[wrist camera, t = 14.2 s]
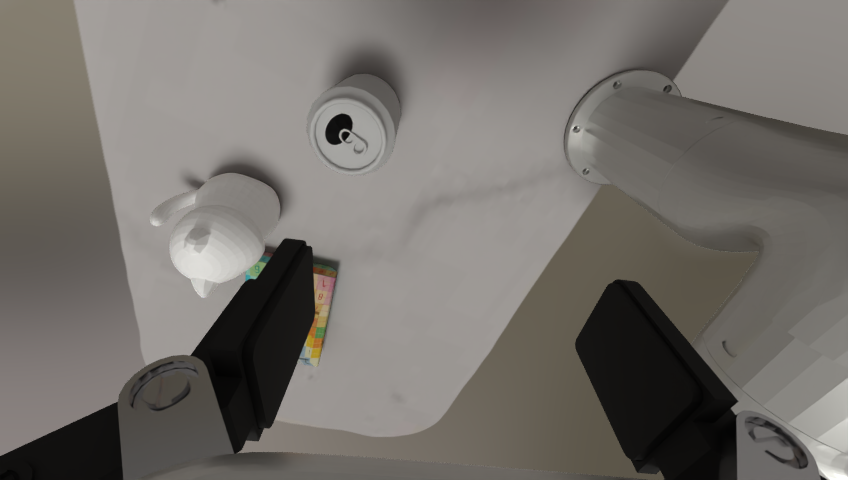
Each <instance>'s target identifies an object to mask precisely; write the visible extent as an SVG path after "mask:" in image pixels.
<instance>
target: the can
mask: <svg viewBox="0 0 848 480" xmlns="http://www.w3.org/2000/svg"><path fill="white" fill-rule="evenodd" d="M400 116H401V112H400V103H399V101H398V98H397V96H396V93H395V92H394V91H393V89H392V88H391V87H390V86H389V84H388V83H386V82H385V81H383V80H382V79H380V78H379V77H377V76H373V75H370V74H355V75H353V76H351V77H349V78H346V79H344V80H343V81H341V82H340V83H338V84H337V85H335V86H333V87H332V88H330V89H329V90H327V91H325V92H324V93H322V94H321V95H320V96H319V97H318V99H317V100H316V101H315V102H314V103H313V104H312V107H311V109H310V111H309V114H308V116H307V134H308V138H309V142H310V145H311V147H312V148H313V150H314V152H315V154H316V155H317V157H318V158H319V159H320V160H321V161H322V162H323V163H324V164H325V165H326V166H327V167H328V168H330V169H332V170H334V171H336V172H337V173H341V174H345V175H350V176H361V175H367V174H369V173H372V172H375V171H377V170H378V169H379V168H380V167H382V166H383V165H384V164H385V163H386V162H387V160H388V159H389V157H390V155H391V154H392V152H393V148H394V143H395V139H396V135H397V130H398V126H399V121H400Z"/></svg>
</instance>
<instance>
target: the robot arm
mask: <svg viewBox="0 0 848 480" xmlns="http://www.w3.org/2000/svg"><path fill="white" fill-rule="evenodd" d="M614 82H615V85H614V86H613V84H614ZM575 126H576V127H575ZM574 127H575V129H573V128H574ZM564 146H565V153H566V158H567V160H568V162H569V164H570V166H571V167H572V168H573V170H574V171H575V172H576V173H577V174H578V175H579V176H581V177H582V178H584V179H586V180H587V181H589V182H593V183H596V184H605V185H611V184H614V185H615V186H616V187H618V188H619V189H620V190H621V191H623V192H624V193H625V194H627V195H628V196H629V197H631V198H632V199H633V200H634V201H635V202H637V203H638V204H639V205H641V206H642V207H643V208H644V209H646V210H647V211H648V212H649V213H651V214H652V215H653V216H655V217H656V218H657V219H659V220H660V221H661V222H662V223H663V224H665V225H666V226H667V227H669V228H670V229H671V230H673V231H674V232H675V233H677V234H678V235H679V236H681V237H682V238H684V239H685V240H687V241H689V242H691V243H693V244H695V245H697V246H700V247H704V248H707V249H711V250H717V251H728V252H756V251H757V252H758V251H759V253H758V255H757V258H756V259H755V261H754V262H753V264H752V265H751V266H750V268H749V269H748V271H747V272H746V273H745V274H744V276H743V277H742V281H741V282H740V283H739V284H738V286H737V287H736V288H735V289H734V290H733V292H732V293H731V294H730V295H729V297H728V298H727V299H726V300H725V301H724V303H723V304H722V305H721V307H719V309H718V310H717V311H716V312H715V314H714V315H713V316H712V317H711V318H710V320H709V321H708V322H707V323H706V325H705V326H704V327H703V328H702V330H701V331H700V332H699V333H698V335H697V336H696V338H695V339H694V341H693V342H692V344H690V343H689V342H688V341H687V340H686V338H685V337H684V336H683V335H682V334H681V333H680V331H679V330H678V329H677V328H676V327H675V326H674V324H673V323H672V322H671V321H670V320H669V318H668V317H667V316H666V315H665V314H664V312H663V311H662V310H661V309H660V308H659V306H658V305H657V304H656V303H655V302H654V300H653V299H652V298H651V297H650V296H649V295H648V294H647V292H646V291H645V290H644V289H643V287H642V286H641V285H640V284H639V283H638V282H635V281H627V280H615V281H614V282H613V283H610V284H609V285H608V286H607V287H606V289H605V291H604V292H603V294H602V296H601V298H600V299H599V301H598V303H597V304H596V306H595V308H594V310H593V311H592V313H591V315H590V317H589V318H588V320H587V322H586V323H585V325H584V327H583V329H582V330H581V332H580V334H579V336H578V337H577V339H576V343H575V346H576V351H577V353H578V355H579V357H580V359H581V362H582V364H583V366H584V368H585V370H586V372H587V375H588V376H589V379H590V381H591V383H592V385H593V387H594V389H595V392H596V394H597V396H598V398H599V400H600V402H601V405H602V406H603V409H604V411H605V413H606V415H607V417H608V419H609V422H610V424H611V426H612V428H613V430H614V432H615V435H616V437H617V439H618V441H619V443H620V445H621V447H622V449H623V451H624V453H625V455H626V456H627V457H628V458H629V459H631V461H632V463H633V465H634V467H635V469H636V471H637V472H638V473H648V474H657V473H658V472H659V471H661V472H662V474H663V476H664V480H848V135H844V134H839V133H834V132H829V131H824V130H819V129H814V128H810V127H805V126H801V125H797V124H793V123H789V122H784V121H780V120H776V119H772V118H766V117H762V116H758V115H754V114H750V113H746V112H742V111H738V110H733V109H730V108H725V107H721V106H717V105H713V104H709V103H705V102H701V101H697V100H693V99H689V98H685V97H682V96H681V93H680V91H679V89H678V88H677V86H676V84H675V83H674V82H673V81H672V80H670V79H669V78H668V77H666V76H664V75H662V74H660V73H657V72H653V71H647V70H632V71H626V72H622V73H619V74H616V75H614V76H612V77H610V78H608V79H606V80H604V81H602V82H601V83H600V84H598V85H597V86H596V87H594V88H593V89H592V90H591V91H590V92H589V93H588V94H587V95H586V96H585V97H584V98H583V99H582V100H581V102H580V103H579V104H578V106H577V107H576V108H575V110H574V112H573V114H572V116H571V117H570V120H569V122H568V125H567V128H566V133H565V139H564ZM314 318H315V293H314V272H313V252H312V247H311V246H307V245H306V242H305V241H303V240H295V239H287V238H286V239H284V240H283V241H282V242H281V244H280V245H279V247H278V248H277V250H276V251H275V252H274V254H273V255H272V257H271V258H270V260H269V261H268V262H267V264H266V265H265V267H264V268H263V270H262V271H261V272H260V274H259V275H258V277H257V278H256V279H248V280H247V281H246V282H245V283H244V284H243V285H242V286H241V288H240V289H239V290H238V292H237V293H236V294H235V296H234V297H233V299H232V300H231V301H230V303H229V304H228V305H227V307H226V308H225V309H224V311H223V312H222V313H221V315H220V316H219V317H218V319H217V320H216V322H215V323H214V324H213V326H212V327H211V328H210V330H209V331H208V332H207V334H206V335H205V336H204V338H203V339H202V340H201V342H200V343H199V345H198V346H197V347H196V349H195V350H194V351H193V353H192V354H191V355H190V356H188V355H177V356H170V357H167V358H163V359H160V360H158V361H156V362H153V363H151V364H149V365H147V366H146V367H144V368H143V369H141V370H140V371H138V372H137V373H136V374H134V376H133V377H132V378H131V379H130V380H129V381H128V382H127V383H126V384H125V385H124V387H123V389H122V391H121V392H120V394H119V399H118V402H116V403H114V404H112V405H110V406H107V407H105V408H103V409H101V410H99V411H97V412H94V413H92V414H90V415H88V416H86V417H84V418H82V419H80V420H77V421H75V422H73V423H71V424H69V425H66V426H64V427H62V428H60V429H58V430H56V431H53V432H51V433H49V434H47V435H45V436H43V437H41V438H39V439H36V440H34V441H32V442H30V443H28V444H25V445H23V446H21V447H19V448H17V449H15V450H13V451H10V452H8V453H6V454H4V455H2V456H0V480H646V479H634V478H623V477H611V476H598V475H588V474H576V473H564V472H551V471H540V470H526V469H515V468H502V467H490V466H478V465H465V464H451V463H439V462H425V461H412V460H400V459H386V458H373V457H360V456H343V455H342V456H341V455H325V454H308V453H290V452H289V453H288V452H284V453H283V452H249V453H238V452H239V451H241V450H242V448H243V446H244V444H245V441H246V440H249V441H259V439H260V437H261V434H262V432H263V429H264V428H270V427H271V426H272V424H273V422H274V420H275V417H276V415H277V412H278V410H279V407H280V405H281V402H282V400H283V397H284V395H285V392H286V390H287V387H288V385H289V382H290V380H291V377H292V374H293V372H294V369H295V367H296V364H297V362H298V359H299V357H300V354H301V352H302V349H303V347H304V344H305V342H306V339H307V337H308V334H309V332H310V329H311V327H312V324H313V321H314ZM236 453H237V454H236Z"/></svg>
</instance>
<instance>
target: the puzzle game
mask: <svg viewBox="0 0 848 480" xmlns="http://www.w3.org/2000/svg"><path fill="white" fill-rule="evenodd" d="M272 255H273V254H272V253H267V252H264V253H263V255H262V257H261V258H260V259H259V261H258V262H257V263H256V264H254V265H253V266H252V267H251V268H249V269H248V270H247V271H246V281H247V280H248V279H256V278H257V277H258V275H259V274H260V272H261V271H262V270H263V268H264V267H265V265H266V264H267V262H268V261H269V260H270V258H271V257H272ZM313 272H314V293H315V318H314V321H313V324H312V327H311V329H310V332H309V334H308V337H307V339H306V342H305V344H304V347H303V349H302V352H301V354H300V357H299V359H298V362H297V363H299V364H304V365H310V366H316V367H318V364H319V361H320V356H321V351H322V346H323V341H324V336H325V331H326V326H327V321H328V316H329V312H330V307H331V302H332V297H333V292H334V287H335V282H336V277H337V271H335V270H334V269H333V268H332V267H330V266H325V265H321V264H317V263H313Z"/></svg>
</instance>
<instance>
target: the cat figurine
mask: <svg viewBox="0 0 848 480" xmlns="http://www.w3.org/2000/svg"><path fill="white" fill-rule="evenodd" d="M191 204H194V209H193V210H191V211H190V212H188V213H187V214H186V215H185V216H184V217H183V218H182V219H181V220H180V221H179V222H178V224H177V225H176V227H175V228H174V230H173V233H172V236H171V239H170V246H169V251H170V256H171V259H172V261H173V264H174V265H175V267H176V268H177V269H178V270H179V272H180V273H182V274H183V275H184V276H186V277H187V278H189V279H191V282H192V284H193V287H194V289H195V290H196V292H197V293H198V295H199V296H200V297H202V298H205V297H207V296H209V295H210V294H211V293H212V292H213V291H214V290H215V289H216V287H217V286H218V285H219V283H221V282H226V281H228V280H231V279H233V278H235V277H237V276H239V275H240V274H242V273H243V272H245V271H247V270H248V269H249V268H251V267H252V266H253V265H254V264H256V263H257V262H258V261H259V259H260V258H261V257H262V255H263V253H264V251H265V241H264V239H265V238H266V237H268V236H269V235H270V234H271V232H272V231H273V230H274V229H275V227H276V225H277V223H278V221H279V216H280V202H279V199H278V197H277V194H276V192H275V191H274V190H273V189H272V188H271V187H270V186H268V185H267V184H265V183H263V182H261V181H258V180H256V179H253V178H251V177H248V176H245V175H242V174H238V173H225V174H221V175H217V176H215V177H212V178H210V179H209V180H208V181H207V182H206V183H205V184H204V185H202V186H201V187H200V189H198V190H193V191H189V192H186V193H183V194H180V195H178V196H175V197H173V198H171V199H169V200H167V201H165V202H163V203H162V204H160V205H159V206H158V207H156V208H155V210H154V211H153V212H152V214H151V216H150V222H151V224H152V225H154V226H161V225H163V224H164V223H165V222H166V221H167V220H168V219H169V218H170V217H171V216H172V215H173V214H174V213H175V212H177V211H178V210H180V209H182V208H184V207H186V206H189V205H191Z"/></svg>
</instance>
